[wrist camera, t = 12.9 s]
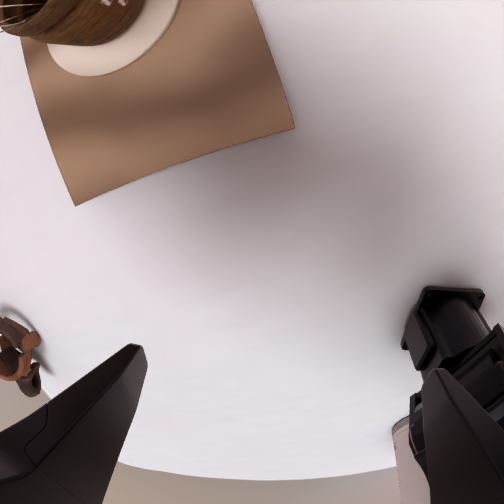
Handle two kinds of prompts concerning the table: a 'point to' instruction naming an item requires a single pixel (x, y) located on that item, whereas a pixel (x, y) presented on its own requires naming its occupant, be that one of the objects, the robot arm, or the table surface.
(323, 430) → the table surface
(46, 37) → the utensil holder
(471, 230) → the table surface
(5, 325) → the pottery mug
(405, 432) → the travel mug
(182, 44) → the walnut board
